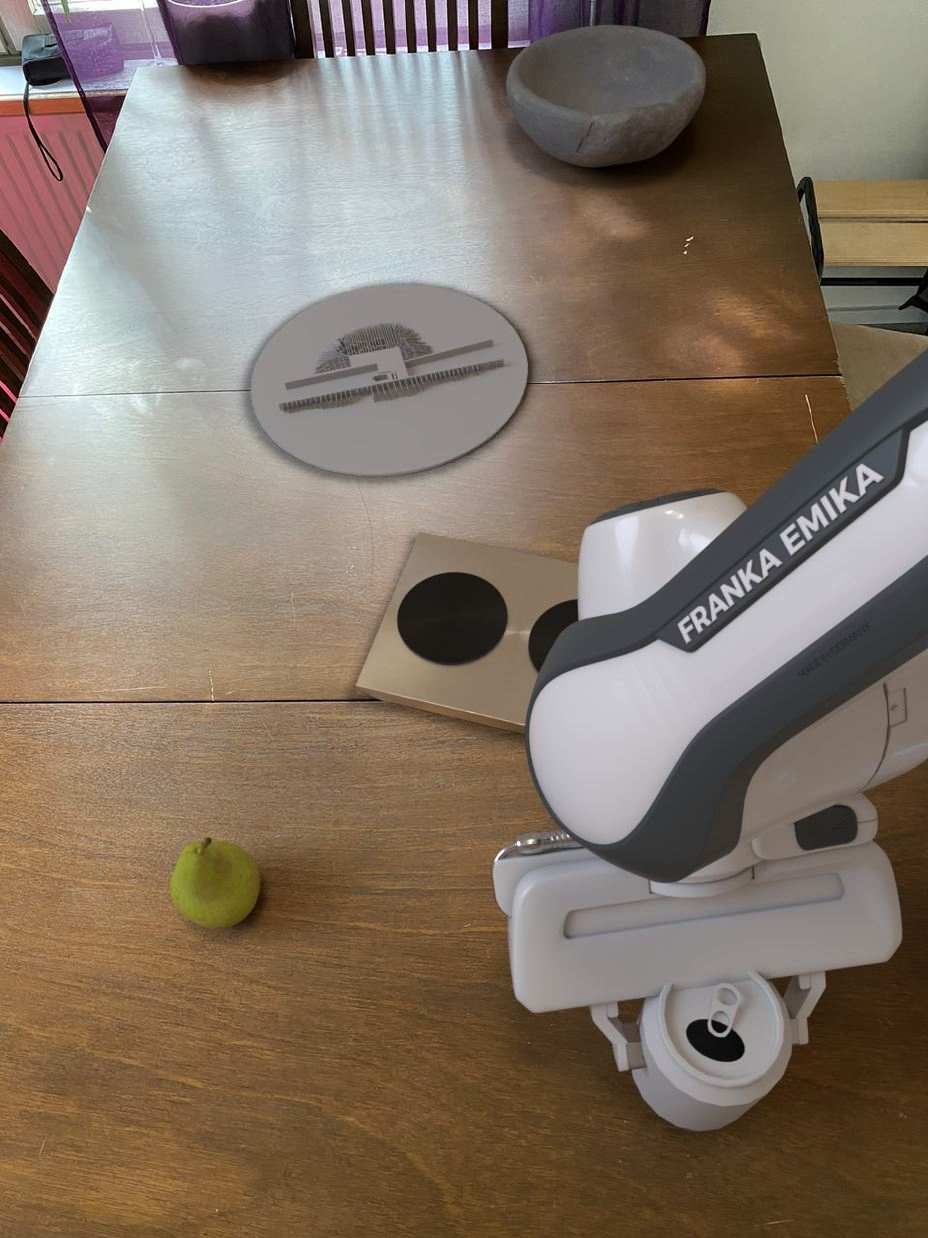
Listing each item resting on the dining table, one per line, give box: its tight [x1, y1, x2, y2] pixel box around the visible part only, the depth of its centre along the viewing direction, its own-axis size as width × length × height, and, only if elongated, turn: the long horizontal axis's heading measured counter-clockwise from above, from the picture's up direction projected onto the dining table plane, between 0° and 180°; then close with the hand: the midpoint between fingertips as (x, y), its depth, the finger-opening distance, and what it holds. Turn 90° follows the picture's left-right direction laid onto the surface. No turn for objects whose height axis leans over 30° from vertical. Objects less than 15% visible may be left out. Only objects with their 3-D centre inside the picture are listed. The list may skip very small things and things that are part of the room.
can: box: [631, 971, 793, 1132], centre depth 53 cm, size 8×8×12 cm
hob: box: [355, 531, 579, 735], centre depth 78 cm, size 22×16×2 cm
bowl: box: [505, 24, 707, 169], centre depth 115 cm, size 23×22×10 cm
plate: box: [250, 283, 529, 478], centre depth 97 cm, size 28×28×1 cm
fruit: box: [169, 837, 261, 930], centre depth 63 cm, size 6×6×12 cm
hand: (710, 1051), depth 52 cm, fingers closed on can, 7 cm apart
